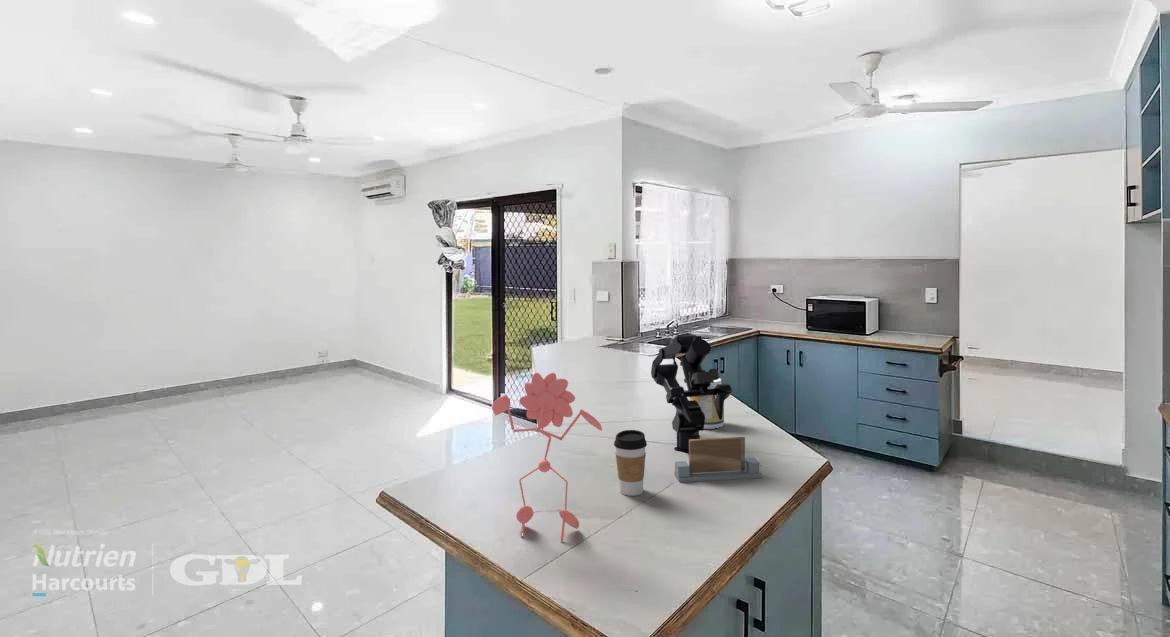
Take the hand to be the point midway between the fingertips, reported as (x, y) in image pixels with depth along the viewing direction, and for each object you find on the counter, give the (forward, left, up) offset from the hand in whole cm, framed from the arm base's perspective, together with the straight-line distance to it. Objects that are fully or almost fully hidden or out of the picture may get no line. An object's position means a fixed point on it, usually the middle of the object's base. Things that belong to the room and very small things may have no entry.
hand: (705, 420), depth 155 cm
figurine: (-9, -54, -14) cm, 56 cm away
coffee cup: (-6, -28, -14) cm, 31 cm away
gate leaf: (+6, -5, -12) cm, 14 cm away
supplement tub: (-19, +36, -14) cm, 43 cm away
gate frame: (+6, -5, -13) cm, 16 cm away
